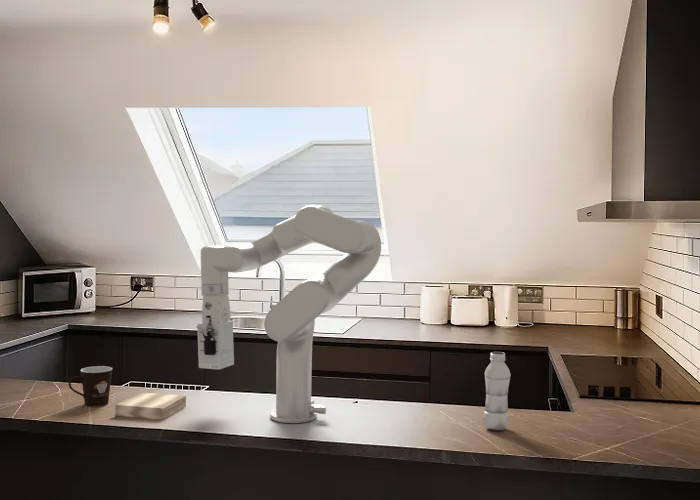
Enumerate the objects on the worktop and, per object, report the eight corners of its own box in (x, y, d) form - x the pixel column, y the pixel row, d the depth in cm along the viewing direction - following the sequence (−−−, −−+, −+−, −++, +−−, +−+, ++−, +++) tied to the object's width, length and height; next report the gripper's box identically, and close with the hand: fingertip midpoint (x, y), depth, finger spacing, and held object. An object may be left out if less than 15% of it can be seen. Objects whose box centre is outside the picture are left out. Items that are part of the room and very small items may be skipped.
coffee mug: (112, 399, 209) (112, 365, 209) (112, 406, 201) (112, 371, 201) (70, 401, 206) (70, 367, 205) (68, 409, 197) (68, 374, 197)
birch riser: (185, 406, 203) (185, 395, 202) (162, 419, 189) (162, 408, 189) (141, 402, 206) (141, 392, 205) (115, 415, 192) (115, 404, 192)
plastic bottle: (480, 425, 188) (482, 350, 187) (506, 426, 187) (508, 351, 187) (484, 432, 181) (486, 355, 180) (511, 433, 181) (513, 355, 180)
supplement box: (213, 363, 204) (211, 319, 203) (234, 364, 201) (233, 320, 200) (197, 368, 197) (196, 323, 197) (219, 369, 194) (218, 324, 194)
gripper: (215, 292, 189) (216, 358, 190) (239, 287, 206) (240, 346, 207) (189, 292, 190) (190, 357, 191) (214, 287, 207) (216, 346, 208)
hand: (216, 351), depth 199 cm, fingers closed on supplement box, 8 cm apart
